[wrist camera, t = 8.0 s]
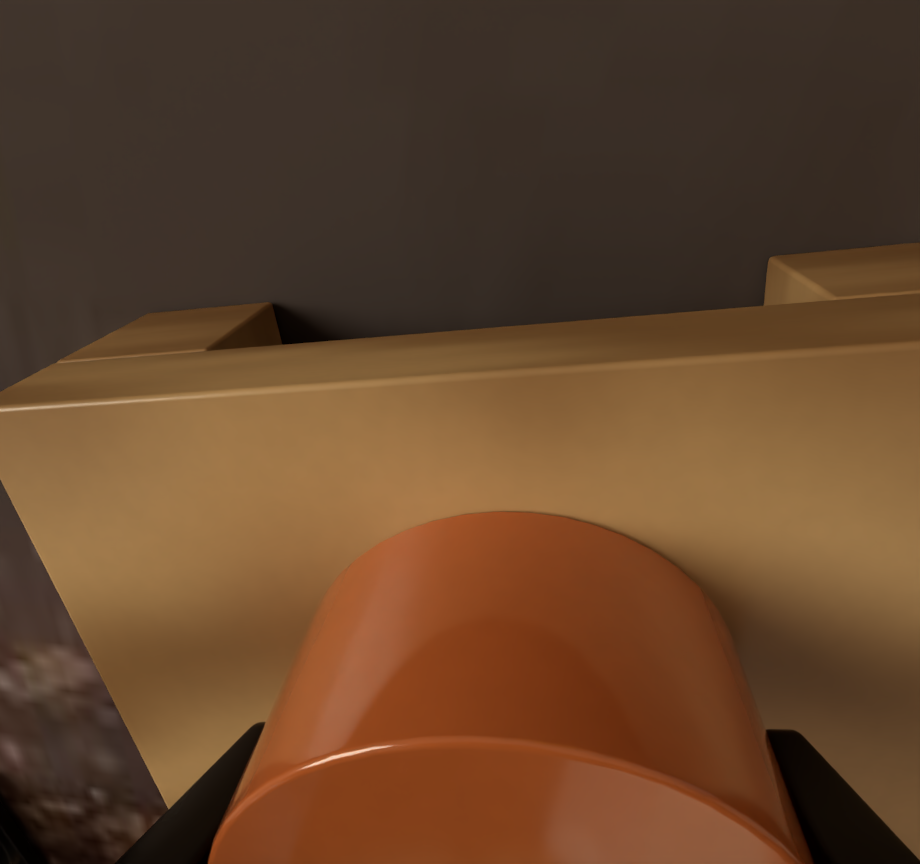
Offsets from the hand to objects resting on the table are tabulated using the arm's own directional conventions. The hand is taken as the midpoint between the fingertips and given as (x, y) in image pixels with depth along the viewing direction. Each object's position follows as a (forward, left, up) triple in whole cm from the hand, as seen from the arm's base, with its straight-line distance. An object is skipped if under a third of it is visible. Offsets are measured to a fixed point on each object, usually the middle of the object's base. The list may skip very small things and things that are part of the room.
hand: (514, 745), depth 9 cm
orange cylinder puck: (0, 0, -1) cm, 1 cm away
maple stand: (0, 0, -6) cm, 6 cm away
